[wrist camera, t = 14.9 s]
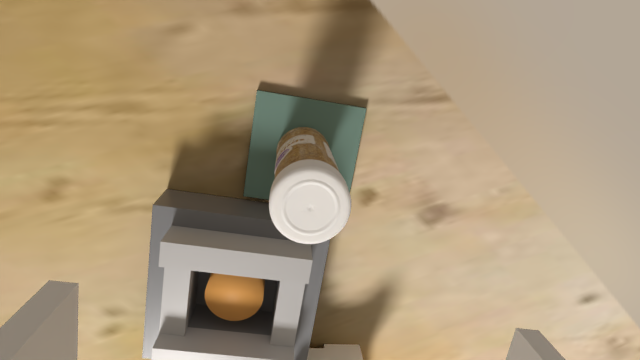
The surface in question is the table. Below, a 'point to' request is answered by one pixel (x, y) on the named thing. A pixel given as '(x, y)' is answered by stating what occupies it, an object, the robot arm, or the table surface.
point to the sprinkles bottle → (308, 189)
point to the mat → (292, 112)
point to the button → (234, 296)
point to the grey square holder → (230, 259)
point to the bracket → (336, 352)
